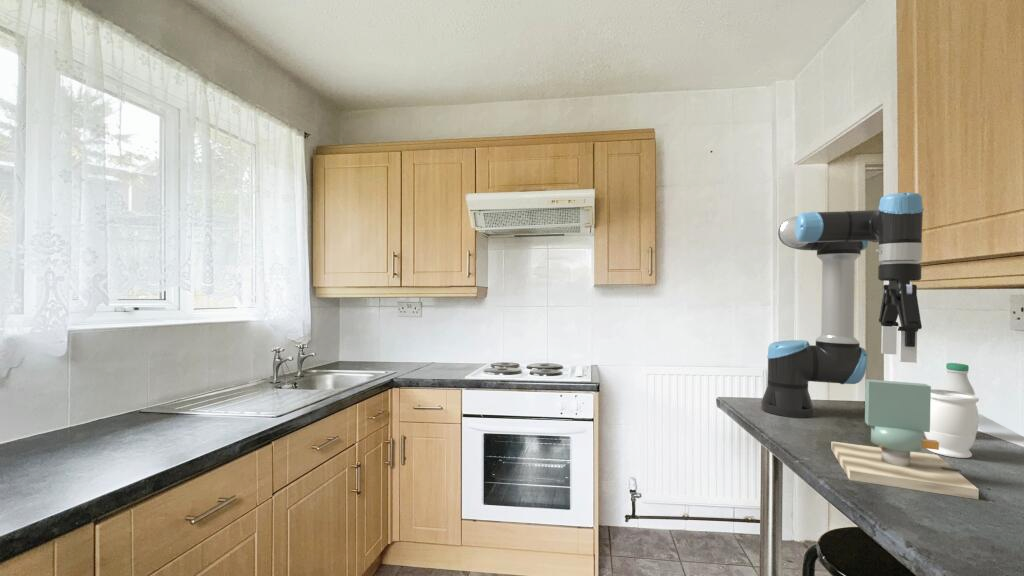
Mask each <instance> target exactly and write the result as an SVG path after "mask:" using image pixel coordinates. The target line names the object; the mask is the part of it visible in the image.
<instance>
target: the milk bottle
mask: <svg viewBox="0 0 1024 576" xmlns="http://www.w3.org/2000/svg"><path fill="white" fill-rule="evenodd" d="M945 366H946V369H945V370H946V372H947V374H946V377H945V379H944V380H943V382H942V383H941V384H940V387H939V389H938V390H949V391H957V392H962V393H968V394H972V395H975V396H976V393H975V390H974V388H973V386H972V385H971V383H970V380H969V377H968V373H969V368H970V367H969V365H968V364H965V363H957V362H955V363H954V362H948V363H946V365H945Z"/></svg>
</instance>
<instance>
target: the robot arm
mask: <svg viewBox="0 0 1024 576" xmlns="http://www.w3.org/2000/svg"><path fill="white" fill-rule="evenodd" d="M923 213H924V205H923V196H922V195H921V194H920V193H918V192H899V193H898V192H897V193H891V194H887V195H884V196H882V197H880V200H879V206H878V209H873V210H870V209H869V210H848V211H846V210H845V211H818V212H817V211H811V212H802V213H799V214H798V215H797V216H794V217H789V218H787V219H786V220H784V221H783V222H782V223H781V224H780V226H779V228H778V231H777V232H778V233H777V234H778V235H777V236H778V239H779V241H780V242H781V243H782V244H783V245H784V246H785V247H789V248H791V249H794V250H801V251H816V257H817V258H818V259H820V261H821V262H822V264H821V266H822V267H821V269H822V271H821V272H822V273H821V322H820V324H821V328H820V329H821V332H820V336H818V337H817V338H816V339H815V345H812V344H810V343H809V341H808V340H803V339H798V340H796V339H795V340H794V339H790V340H781V341H774V342H771V343H770V344H769V346H768V347H767V348H768V349H767V356H766V358H767V382H766V383H767V386H766V388H765V392H764V393H763V396H762V399H761V403H760V409H761V410H762V411H764V412H766V413H770V414H773V415H777V416H781V417H790V418H811V417H814V416H815V407H814V403H813V401H812V398H811V395H810V392H809V382H814V383H816V382H817V383H828V384H829V383H831V384H840V385H845V384H846V385H855V384H858V383H860V382H861V381H862V380H863V378H864V377H865V374H866V370H867V369H868V368H867V367H868V357H867V355H868V353H867V350H866V349H865V348H863V347H861V346H860V344H861V343H860V341H859V340H858V339H857V338H856V337H855V334H854V333H855V330H854V329H855V325H854V324H855V267H856V266H855V262H856V260H857V259H858V258H859V257H860V256H861V255H862V253H861V251H864V250H866V249H867V248H868V246H869V242H870V243H871V242H872V243H878V244H879V245H878V248H876V249H875V253H877V254H878V261H879V262H880V263H881V264H879V265H878V268H877V274H878V275H877V279H878V280H879V281H882V282H888V284H883V286H882V287H883V290H882V291H883V293H882V299H881V305H880V312H879V319H878V322H879V323H880V325H881V350H880V352H881V354H883V355H897V340H898V339H897V333H898V332H899V359H898V360H899V362H901V363H915V364H916V363H918V362H917V361H918V360H917V359H918V358H917V356H918V355H917V354H918V349H917V348H918V331H919V330H921V329H923V325H922V320H921V315H920V307H919V303H918V302H919V301H918V294H917V293H918V292H917V290H918V286H917V284H911V281H912V282H914V281H915V282H917V281H921V279H922V265H921V264H920V263H919V262H922V261H923V241H922V240H923V239H922V238H923V236H922V235H923ZM898 318H899V319H898ZM897 320H899V322H900V325H899V322H898V321H897Z"/></svg>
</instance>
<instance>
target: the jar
mask: <svg viewBox="0 0 1024 576" xmlns="http://www.w3.org/2000/svg"><path fill="white" fill-rule="evenodd" d="M979 401H980V397H979V396H977V395H976V394H975V395H972V394H968V393H962V392H957V391H949V390H939V389H933V388H931V402H930V432H923V433H924V436H925V439H928V440H936V441H937V442H939V450H935V449H927V451H930V452H931V453H934V454H936V455H941V456H945V457H951V458H958V459H967V458H971V457H972V456H973V454H972V452H971V451H970V449H971V448H973V447H972V446H974V444H975V442H976V437H977V433H978V431H979V430H978V429H979V422H980V421H979V420H980V419H979V410H978V407H977V403H978V402H979Z"/></svg>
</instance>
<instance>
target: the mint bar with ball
mask: <svg viewBox="0 0 1024 576" xmlns="http://www.w3.org/2000/svg"><path fill="white" fill-rule="evenodd" d="M931 389H932V387H931V385H929V384H927V383H919V382H906V381H894V380H893V381H891V380H883V379H882V380H880V379H867V378H866V379H865V390H864V391H865V394H864V396H865V398H864V399H865V401H864V402H865V405H864V423H865V424H866V425H867V426H870V441H871V442H872V443H873V444H874V445H876V446H878V447H879V446H882V447H885V448H889V449H893V450H899V451H908V452H922V451H923V449H927V450H928V449H935V450H939V442H937V441H936V440H928V439H927V438H923V433H924V432H930V402H931Z"/></svg>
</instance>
